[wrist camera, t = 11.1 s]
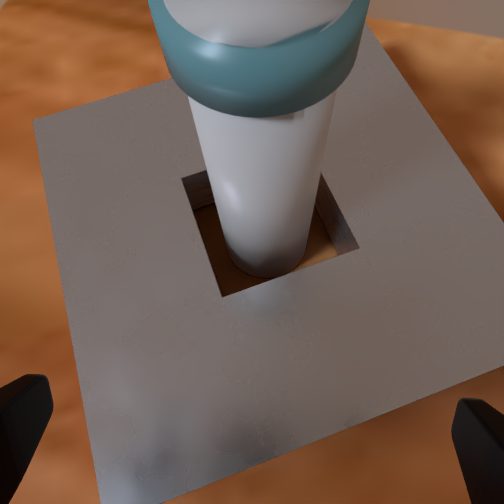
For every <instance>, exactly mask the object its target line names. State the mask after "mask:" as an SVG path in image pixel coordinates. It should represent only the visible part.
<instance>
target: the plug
mask: <svg viewBox="0 0 504 504" xmlns="http://www.w3.org/2000/svg"><path fill="white" fill-rule="evenodd" d="M369 2H370V0H148V3H149V7H150V10H151V14H152V17H153V20H154V24H155V27H156V31H157V34H158V37H159V41H160V44H161V48H162V51H163V54H164V58H165V61H166V64H167V67H168V70H169V73H170V74H171V76H172V78H173V80H174V81H175V83H176V84H177V85H178V86H179V88H180V89H181V90H182V91H183V92H185V93H186V94H187V95H188V99H189V103H190V106H191V110H192V114H193V118H194V122H195V126H196V130H197V134H198V137H199V141H200V145H201V149H202V153H203V157H204V161H205V165H206V168H207V172H208V176H209V180H210V184H211V188H212V192H213V196H214V199H215V203H216V207H217V211H218V215H219V219H220V223H221V226H222V230H223V234H224V238H225V242H226V246H227V250H228V253H229V255H230V257H231V259H232V261H233V262H234V264H235V265H236V266H237V267H238V268H239V269H241V270H242V271H244V272H245V273H247V274H249V275H252V276H255V277H259V278H273V277H278V276H281V275H284V274H286V273H288V272H289V271H291V270H292V269H293V268H294V267H296V266H297V264H298V263H299V262H300V261H301V259H302V257H303V255H304V253H305V249H306V245H307V239H308V234H309V229H310V224H311V219H312V214H313V209H314V204H315V199H316V194H317V189H318V184H319V178H320V173H321V168H322V163H323V158H324V153H325V148H326V143H327V138H328V133H329V128H330V122H331V117H332V112H333V107H334V102H335V97H336V92H337V88H338V87H339V86H340V85H341V84H342V83H343V82H344V81H345V79H346V78H347V77H348V75H349V74H350V72H351V70H352V68H353V66H354V63H355V60H356V57H357V54H358V49H359V45H360V41H361V36H362V32H363V28H364V24H365V19H366V15H367V11H368V6H369Z"/></svg>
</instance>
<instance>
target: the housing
mask: <svg viewBox="0 0 504 504" xmlns="http://www.w3.org/2000/svg"><path fill="white" fill-rule="evenodd" d="M33 126H34V131H35V137H36V142H37V148H38V154H39V159H40V165H41V170H42V176H43V182H44V187H45V193H46V198H47V204H48V210H49V215H50V221H51V226H52V232H53V237H54V243H55V249H56V254H57V260H58V265H59V271H60V277H61V282H62V288H63V293H64V299H65V305H66V310H67V316H68V321H69V327H70V333H71V338H72V344H73V349H74V355H75V360H76V366H77V372H78V377H79V383H80V388H81V394H82V400H83V405H84V411H85V416H86V422H87V428H88V433H89V439H90V444H91V450H92V456H93V461H94V467H95V472H96V478H97V484H98V489H99V495H100V500H101V504H160V503H163V502H165V501H168V500H170V499H173V498H175V497H178V496H180V495H183V494H185V493H188V492H190V491H193V490H195V489H198V488H200V487H203V486H205V485H208V484H210V483H213V482H215V481H218V480H220V479H223V478H225V477H228V476H230V475H232V474H235V473H237V472H240V471H242V470H245V469H247V468H250V467H252V466H255V465H257V464H260V463H262V462H265V461H267V460H270V459H272V458H275V457H277V456H280V455H282V454H285V453H287V452H290V451H292V450H295V449H297V448H300V447H302V446H305V445H307V444H310V443H312V442H315V441H317V440H320V439H322V438H325V437H327V436H330V435H332V434H334V433H337V432H339V431H342V430H344V429H347V428H349V427H352V426H354V425H357V424H359V423H362V422H364V421H367V420H369V419H372V418H374V417H377V416H379V415H382V414H384V413H387V412H389V411H392V410H394V409H397V408H399V407H402V406H404V405H407V404H409V403H412V402H414V401H417V400H419V399H422V398H424V397H427V396H429V395H432V394H434V393H437V392H439V391H441V390H444V389H446V388H449V387H451V386H454V385H456V384H459V383H461V382H464V381H466V380H469V379H471V378H474V377H476V376H479V375H481V374H484V373H486V372H489V371H491V370H494V369H496V368H499V367H501V366H504V222H503V221H502V220H501V218H500V217H499V215H498V214H497V212H496V211H495V209H494V208H493V206H492V205H491V204H490V202H489V201H488V199H487V198H486V196H485V195H484V193H483V192H482V191H481V189H480V188H479V186H478V185H477V183H476V182H475V180H474V179H473V177H472V176H471V175H470V173H469V172H468V170H467V169H466V167H465V166H464V164H463V163H462V162H461V160H460V159H459V157H458V156H457V154H456V153H455V151H454V150H453V148H452V147H451V146H450V144H449V143H448V141H447V140H446V138H445V137H444V135H443V134H442V133H441V131H440V130H439V128H438V127H437V125H436V124H435V122H434V121H433V120H432V118H431V117H430V115H429V114H428V112H427V111H426V109H425V108H424V106H423V105H422V104H421V102H420V101H419V99H418V98H417V96H416V95H415V93H414V92H413V91H412V89H411V88H410V86H409V85H408V83H407V82H406V80H405V79H404V77H403V76H402V75H401V73H400V72H399V70H398V69H397V67H396V66H395V64H394V63H393V62H392V60H391V59H390V57H389V56H388V54H387V53H386V51H385V50H384V49H383V47H382V46H381V44H380V43H379V41H378V40H377V38H376V37H375V35H374V34H373V33H372V31H371V30H370V28H369V27H368V25H367V24H366V22H365V24H364V28H363V32H362V36H361V41H360V45H359V49H358V54H357V57H356V60H355V63H354V66H353V68H352V70H351V72H350V74H349V75H348V77H347V78H346V79H345V81H344V82H343V83H342V84H341V85H340V86H339V87H338V88H337V92H336V97H335V102H334V107H333V112H332V117H331V122H330V128H329V133H328V138H327V143H326V148H325V153H324V158H323V163H322V168H321V173H320V178H319V184H318V189H317V194H316V199H315V204H314V205H315V207H316V209H317V211H318V213H319V215H320V218H321V220H322V222H323V224H324V226H325V228H326V230H327V232H328V234H329V236H330V238H331V240H332V242H333V244H334V246H335V248H336V250H337V252H338V255H339V256H337V257H334V258H331V259H328V260H326V261H323V262H320V263H317V264H315V265H312V266H309V267H306V268H303V269H301V270H298V271H295V272H292V273H289V274H287V275H284V276H281V277H278V278H275V279H273V280H270V281H267V282H264V283H261V284H259V285H256V286H253V287H250V288H248V289H245V290H242V291H239V292H236V293H234V294H231V295H228V296H225V297H223V296H222V294H221V291H220V288H219V285H218V282H217V279H216V276H215V273H214V270H213V267H212V264H211V262H210V259H209V256H208V253H207V250H206V247H205V244H204V241H203V238H202V235H201V232H200V230H199V227H198V224H197V221H196V218H195V215H194V212H193V210H195V209H198V208H201V207H204V206H207V205H210V204H213V203H215V199H214V196H213V192H212V188H211V184H210V180H209V176H208V172H207V168H206V165H205V161H204V157H203V153H202V149H201V145H200V141H199V137H198V134H197V130H196V126H195V122H194V118H193V114H192V110H191V106H190V103H189V99H188V95H187V94H186V93H185V92H183V91H182V90H181V89H180V88H179V86H178V85H177V84H176V83H175V81H174V80H173V78H171V79H167V80H164V81H161V82H157V83H154V84H151V85H147V86H144V87H141V88H137V89H134V90H131V91H128V92H124V93H121V94H118V95H114V96H111V97H108V98H104V99H101V100H98V101H94V102H91V103H88V104H84V105H81V106H78V107H74V108H71V109H68V110H64V111H61V112H58V113H54V114H51V115H48V116H45V117H41V118H38V119H35V120H33Z"/></svg>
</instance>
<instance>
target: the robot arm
mask: <svg viewBox="0 0 504 504" xmlns="http://www.w3.org/2000/svg"><path fill="white" fill-rule="evenodd" d="M52 412H53V399H52V395H51V390H50V386H49V381H48V378H47V377H46V376H45V375H40V374H26V375H24V376H22V377H20V378H18V379H16V380H14V381H12V382H11V383H9V384H7V385H5V386H3V387H1V388H0V504H9V502H10V500H11V499H12V497H13V495H14V493H15V492H16V490H17V488H18V486H19V484H20V482H21V481H22V478H23V476H24V474H25V472H26V470H27V468H28V466H29V464H30V461H31V459H32V457H33V455H34V453H35V450H36V448H37V446H38V444H39V442H40V439H41V437H42V435H43V433H44V431H45V428H46V426H47V424H48V422H49V420H50V417H51V415H52ZM451 433H452V440H453V443H454V446H455V450H456V453H457V457H458V460H459V463H460V467H461V470H462V473H463V477H464V480H465V484H466V487H467V490H468V494H469V497H470V500H471V504H504V415H503V414H502V413H500V412H499V411H497V410H496V409H495V408H493V407H492V406H491V405H489V404H488V403H486V402H485V401H483V400H481V399H475V398H462V399H460V400H459V401H458V404H457V408H456V412H455V416H454V420H453V424H452V429H451Z"/></svg>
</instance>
